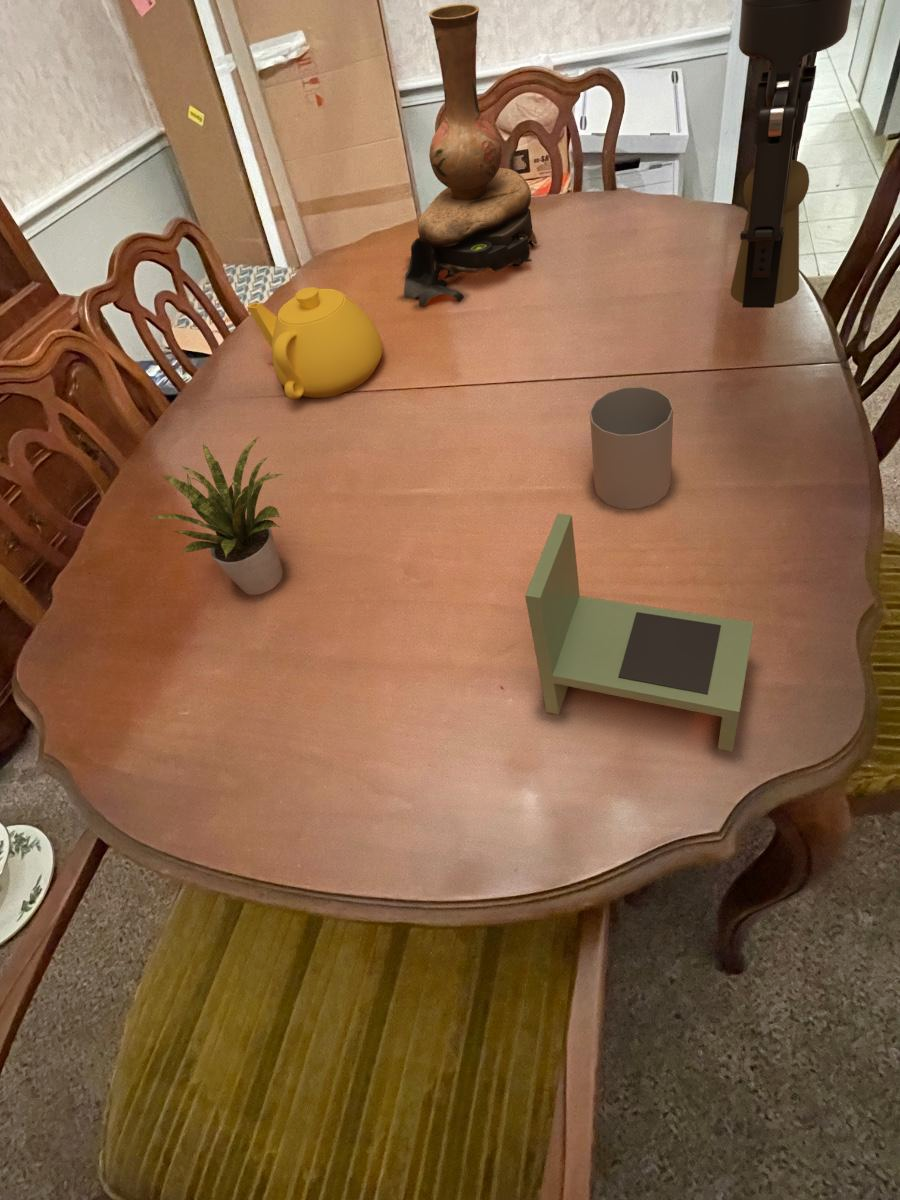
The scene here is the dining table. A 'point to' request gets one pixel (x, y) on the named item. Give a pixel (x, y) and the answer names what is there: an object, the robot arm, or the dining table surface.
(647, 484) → the cup
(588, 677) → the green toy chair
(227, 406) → the dining table surface
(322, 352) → the teapot
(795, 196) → the brown peg doll
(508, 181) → the vase
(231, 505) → the house plant
